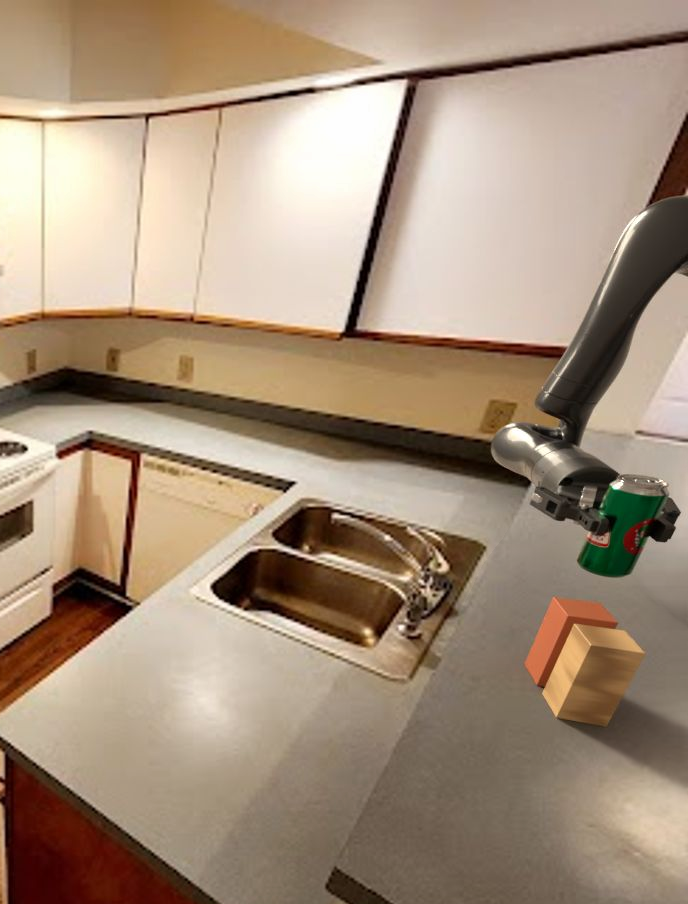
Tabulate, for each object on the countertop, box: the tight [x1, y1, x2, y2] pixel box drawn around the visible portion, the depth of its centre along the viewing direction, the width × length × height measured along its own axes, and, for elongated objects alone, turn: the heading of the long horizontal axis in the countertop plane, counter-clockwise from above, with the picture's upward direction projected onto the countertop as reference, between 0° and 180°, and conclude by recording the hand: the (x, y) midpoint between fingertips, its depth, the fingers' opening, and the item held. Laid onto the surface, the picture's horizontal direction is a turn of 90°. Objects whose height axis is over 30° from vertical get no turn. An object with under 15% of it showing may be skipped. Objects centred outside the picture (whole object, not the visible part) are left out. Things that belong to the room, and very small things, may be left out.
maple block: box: [541, 624, 646, 728], centre depth 69 cm, size 4×4×10 cm
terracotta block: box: [524, 596, 619, 688], centre depth 74 cm, size 4×4×10 cm
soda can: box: [576, 473, 670, 579], centre depth 75 cm, size 5×5×12 cm
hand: (633, 531), depth 73 cm, fingers closed on soda can, 5 cm apart
